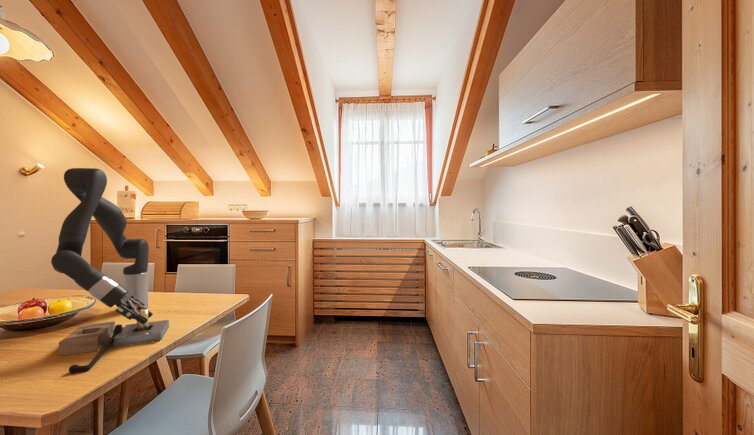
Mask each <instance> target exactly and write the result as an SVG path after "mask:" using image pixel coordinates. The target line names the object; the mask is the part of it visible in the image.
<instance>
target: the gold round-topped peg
mask: <svg viewBox="0 0 754 435" xmlns="http://www.w3.org/2000/svg"><path fill="white" fill-rule="evenodd" d="M137 311H138V312H139V314H141V315H143V316H144V317H145V318H147V319H148V321H147V322H146V323H145V324H141V323H139V322H138V321H137V320H136V324H137V332H139V331H147V330H149V322H150V321H149V318H148V311H149V309H148V308H146V309H140V310H137Z"/></svg>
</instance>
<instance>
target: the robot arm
mask: <svg viewBox="0 0 754 435" xmlns="http://www.w3.org/2000/svg"><path fill="white" fill-rule="evenodd" d="M63 181H64V184H65V186H66V187H67V189H68V190H69V191H70V192H71V193H72V194H73V195H74V196H75V197H76V198H77V199H78V200H79V204H78V205H77V206H76V207H75V208H74V209H73V210H72V211H71V212H69V213H68V215H67V216H66V217H65V218H64V220H63V221H62V225H61V228H60V231H59V236H58V245H57V248H56V250H55V253H54V255H53V256H52V257H51V260H50V263H51V265H52V268H53V270H54V271H55V272H57V273H59V274H65V275H66V276H67V277H69V278H70V279H72V280H73V282H74V283H76V284H77V286H79V287H80V288H82V289H83V290H85V291H87V292H88V293H89V294H90V295H91V296H92V297H93V298H95V299H96V300H98V301H100V302H101V303H102V304H104V305H105V306H107V307H108V308H113V307H114V306H116V307H117V308H116V309H115V312H116V313H118V314H119V315H121V316H123V317H124V318H126V319H128V320H130V321H131V320H135V321H136V322H137V321H138V322H139V323H141V324H145V323H146V322H147V321H148V320H149V319H150V318H151V317H152V316H153V314H154V313H152V312H151V311H150V310H148V319H147V318H145V317H144V316H143V315H141V314H139V312H138V311H137V310H140V309H148V308H149V280H148V267H149V252H150V250H149V249H150V247H149V243H148V241H147V240H146V239H145V238H144V239H143V238H127V237H126V235H125V234H124V232H125V230H126V228H127V222H128V221H127V220H128V219H127V218H126V216H125V214H124V213H123V211H122V210H121V208H119V207H118V206H117V205H116V204H114V202H111V201H109V200H108V199H106V198H104V197H103V194H104V192H105V191H106V187H107V184H108V178H107V175H106V173H105V172H104V170H102V169H100V168H95V167H94V168H89V167H85V168H84V167H73V168H68V169H66V170H65V172H64V173H63ZM92 218H94V220H95V221H96V223H97V224H98V225H99V227H100V228H101V229H102V230H103V231H104V233H105V235H106V236H107V237H108V238H109V240H110V242H111V243H112V245H113V247H114V248H115V251H116V252H117V254H118V256H119V257H120V258H123V259H126V260H127V259H129V260H130V259H134V261H135V262H134V263H132V264H131V265H127V266H124V268H123V269H122V276H123V277H122V280H123V286H122V285H121V284H120V283H118V282H117V281H116V280H114V279H112V278H110V277H109V276H107V274H106V275H105V273H103V272H101V271H100V270H98V269H97V268H95V267H94V266H92V265H91V264H90V263H89V262H88V261H87V260H86V259H85V258H84V257H82V256H83V255H82V253H83V246H84V244H85V242H86V238H87V235H88V231H89V227H90V223H91V220H92Z"/></svg>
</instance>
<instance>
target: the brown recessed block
mask: <svg viewBox="0 0 754 435" xmlns="http://www.w3.org/2000/svg"><path fill="white" fill-rule="evenodd" d="M115 326H116V321H115V320H113V321H102V322H93V323H85V324H81V325H80V326H79V327H77V328H76V329H75V330H73V331H72V332H71V333H69V334H68V335H67V336H66V337H64V338H63V339H61V340H60V341H59V342H58V356H59V357H62V356H68V355H69V356H70V354H71V355H76V353H78V354H84V353H83V352H85V353H91V352H90V351H92V352H99V350H101V348H103V347H104V345H105V344H106V343H107V342H108V341H109V340H108V339H109V338H110V337H111V336H112V335H113V332H114V329H115ZM107 340H108V341H107ZM106 341H107V342H106ZM105 342H106V343H105ZM103 344H104V345H103ZM100 347H101V348H100ZM98 349H99V350H98Z"/></svg>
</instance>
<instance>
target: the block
mask: <svg viewBox="0 0 754 435" xmlns="http://www.w3.org/2000/svg"><path fill="white" fill-rule="evenodd" d="M169 328H170V320H169V319H166V320H155V321H149V330H147V331H139V332H137V323H131V324H125V325H124V328H123V329H122V330H121V331H120V332H119V333H118V334H117V335H116V336H115V337H114V339H113V340H114V342H113V348H114V347H123V346H124V347H125V346H130V345H131V344H132V345H138V343H140V344H146V343H145V342H147V343H153V342H152V341H154V342H160V340H161V341H162V340H163V338H164V336H165V335H166V333H167V331H168V330H169Z"/></svg>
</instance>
